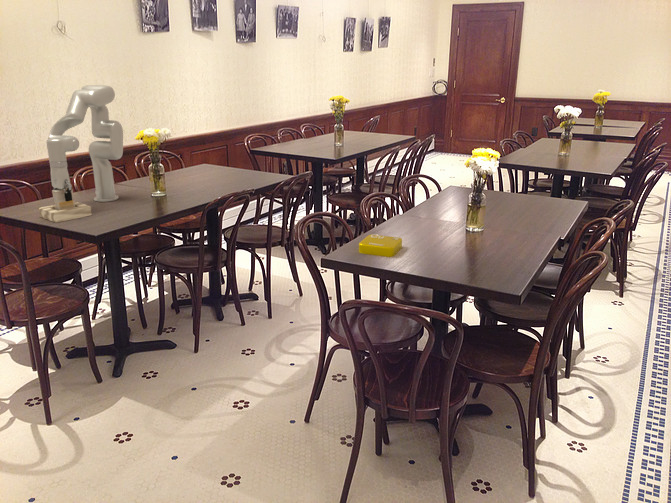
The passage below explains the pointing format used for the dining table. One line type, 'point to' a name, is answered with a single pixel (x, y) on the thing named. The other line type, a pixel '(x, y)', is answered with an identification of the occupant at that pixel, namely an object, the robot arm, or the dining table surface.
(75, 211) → the well
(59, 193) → the supplement box
